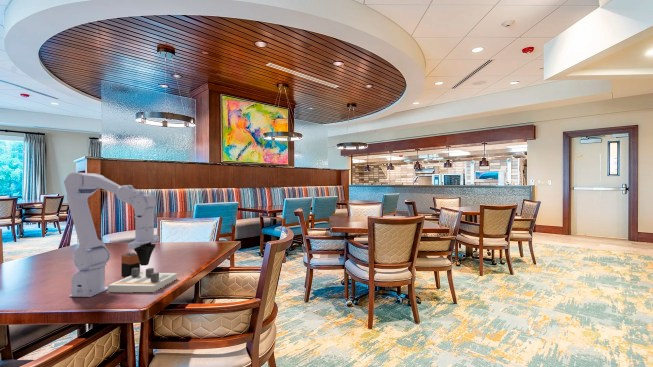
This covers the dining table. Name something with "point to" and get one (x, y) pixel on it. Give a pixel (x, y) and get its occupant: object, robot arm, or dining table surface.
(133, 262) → the battery
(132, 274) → the block
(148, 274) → the block
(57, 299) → the dining table surface
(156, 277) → the block
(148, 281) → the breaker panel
